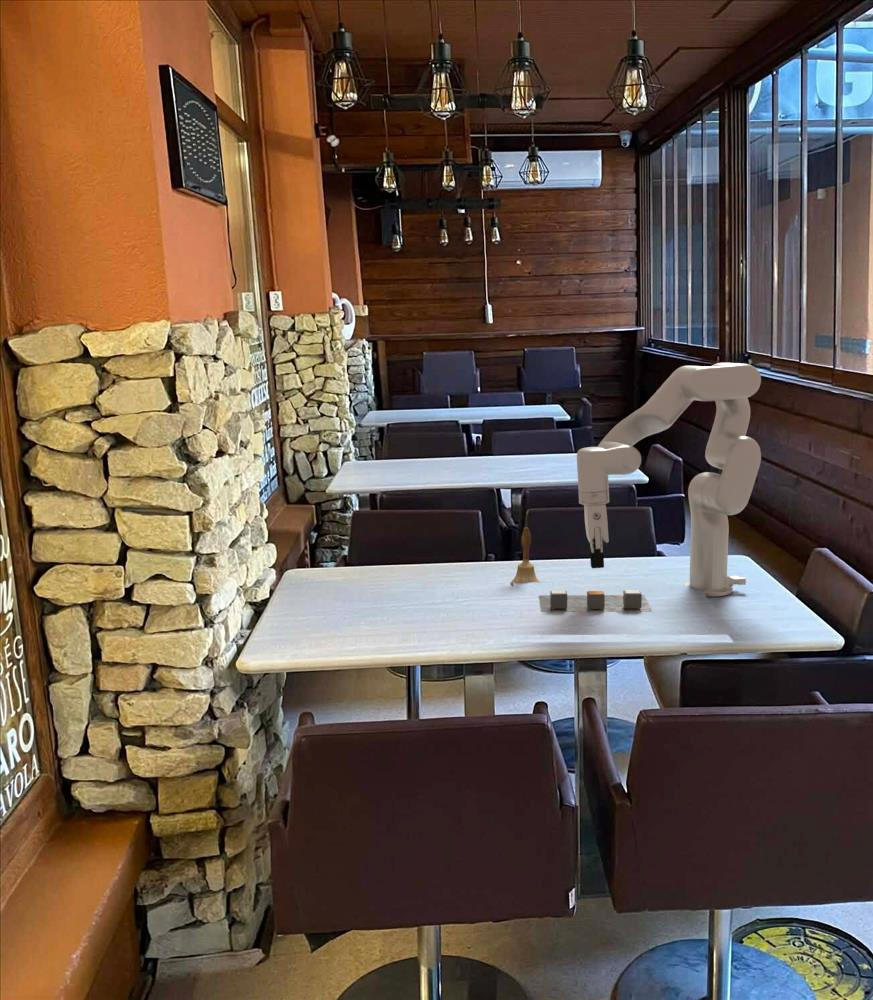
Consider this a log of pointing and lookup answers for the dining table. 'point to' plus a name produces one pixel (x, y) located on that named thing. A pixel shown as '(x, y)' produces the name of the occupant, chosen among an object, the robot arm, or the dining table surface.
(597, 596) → the block
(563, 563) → the dining table surface
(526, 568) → the hand bell
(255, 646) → the dining table surface
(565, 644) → the dining table surface
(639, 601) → the block
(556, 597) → the breaker
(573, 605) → the panel
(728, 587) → the robot arm
